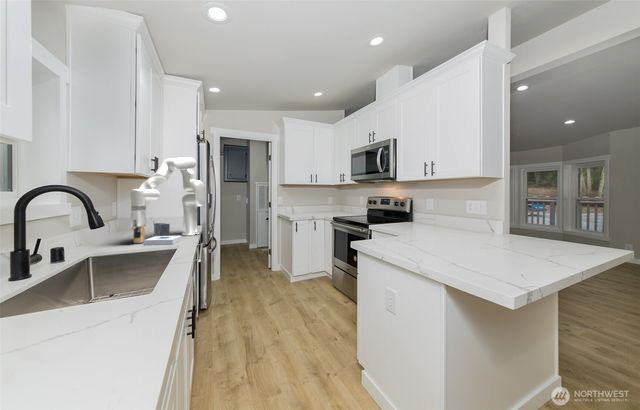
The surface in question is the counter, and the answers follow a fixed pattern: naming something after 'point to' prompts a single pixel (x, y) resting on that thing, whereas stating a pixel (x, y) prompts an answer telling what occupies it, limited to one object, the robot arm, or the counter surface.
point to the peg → (142, 235)
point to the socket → (162, 240)
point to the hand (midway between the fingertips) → (139, 236)
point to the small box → (161, 229)
